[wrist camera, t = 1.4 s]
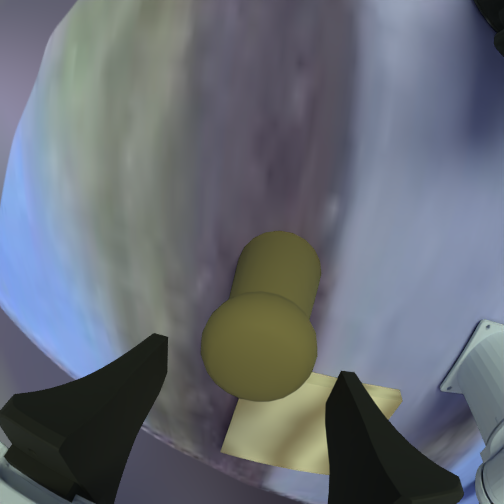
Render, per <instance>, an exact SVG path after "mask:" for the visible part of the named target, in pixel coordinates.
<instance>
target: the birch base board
mask: <svg viewBox="0 0 504 504" xmlns="http://www.w3.org/2000/svg"><path fill="white" fill-rule="evenodd" d="M336 380H337V378H335V377H330V376H326V375H322V374H317V373H313V372H312V373H311V375H310V377H309V378H308V379H307V380H306V382H305V383H304V384H303V385H302V386H301V387H300V388H299V389H298V390H296V391H295V392H293V393H292V394H290V395H288V396H286V397H285V398H282V399H278V400H274V401H270V402H254V401H249V400H244V399H240V398H239V399H238V402H237V405H236V408H235V411H234V414H233V417H232V420H231V423H230V426H229V428H228V431H227V434H226V437H225V440H224V443H223V446H222V449H221V452H222V453H226V454H229V455H233V456H236V457H240V458H244V459H247V460H251V461H255V462H260V463H264V464H268V465H273V466H278V467H283V468H288V469H293V470H299V471H305V472H311V473H318V474H325V475H330V474H329V458H328V448H327V439H326V429H325V404H326V401H327V399H328V397H329V395H330V393H331V391H332V389H333V387H334V385H335V383H336ZM362 384H363V386H364V387H365V389H366V390H367V392H368V393H369V395H370V396H371V398H372V399H373V400H374V402H375V403H376V405H377V406H378V407H379V409H380V410H381V411H382V413H383V414H384V415H385V417H386V418H387V419H388V420H389V418H390V417H391V416H392V414H393V413H394V412H395V410H396V409H397V408H398V406H399V405H400V404H401V402H402V397H401V393H400V390H397V389H391V388H385V387H380V386H374V385H369V384H364V383H362Z"/></svg>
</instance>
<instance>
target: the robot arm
mask: <svg viewBox="0 0 504 504" xmlns="http://www.w3.org/2000/svg"><path fill="white" fill-rule="evenodd" d="M487 325H488V326H487ZM486 326H487V327H486ZM167 360H168V337H166V336H163V335H159V334H156V333H154V334H152V335H151V336H149V337H148V338H146V339H145V340H144V341H142V342H141V343H140V344H138V345H137V346H135V347H134V348H133V349H131V350H130V351H128V352H127V353H125V354H124V355H122V356H121V357H119V358H118V359H116V360H115V361H113V362H111V363H110V364H108V365H106V366H104V367H103V368H101V369H99V370H97V371H95V372H93V373H91V374H89V375H87V376H85V377H83V378H80V379H78V380H75V381H72V382H69V383H66V384H63V385H60V386H57V387H54V388H50V389H45V390H40V391H35V392H28V393H20V394H14V395H13V396H12V397H11V398H10V400H9V401H8V402H7V403H6V404H5V405H4V407H3V408H2V409H1V410H0V426H1V428H2V429H3V431H4V433H5V434H6V436H7V437H8V439H9V440H10V441H11V443H12V445H11V447H10V448H8V447H7V446H6V445H5V444H3V443H2V442H1V441H0V504H114V501H115V498H116V494H117V490H118V487H119V483H120V480H121V477H122V474H123V471H124V468H125V465H126V462H127V459H128V457H129V454H130V451H131V449H132V446H133V443H134V441H135V438H136V436H137V434H138V432H139V430H140V428H141V426H142V424H143V422H144V420H145V418H146V417H147V415H148V413H149V411H150V409H151V407H152V406H153V404H154V402H155V400H156V398H157V396H158V394H159V392H160V390H161V388H162V385H163V383H164V380H165V377H166V374H167ZM440 389H441V391H443V392H451V393H460V394H464V397H465V399H466V401H467V403H468V405H469V407H470V410H471V412H472V414H473V416H474V419H475V421H476V423H477V426H478V428H479V431H480V433H481V435H482V438H483V440H484V443H485V445H486V447H485V448H484V450H483V451H482V452H481V453H480V455H481V457H482V460H483V463H482V464H481V465H480V466H479V468H478V470H477V473H476V478H475V490H476V495H477V498H478V501H479V503H480V504H504V325H503V324H499V323H496V322H492V321H489V320H486V319H484V320H482V321H480V323H479V324H478V326H477V328H476V330H475V332H474V333H473V335H472V337H471V339H470V340H469V342H468V344H467V346H466V347H465V349H464V351H463V352H462V354H461V355H460V357H459V359H458V360H457V362H456V363H455V365H454V366H453V368H452V370H451V371H450V373H449V374H448V375H447V377H446V378H445V380H444V381H443V383H442V384H441V386H440ZM325 429H326V439H327V448H328V458H329V474H330V475H329V495H328V504H456V503H458V502H459V501H460V500H461V499H462V497H463V495H464V492H463V488H462V485H461V482H460V479H459V477H458V476H457V475H455V474H453V473H451V472H449V471H447V470H446V469H444V468H442V467H440V466H439V465H437V464H436V463H434V462H433V461H431V460H430V459H428V458H427V457H426V456H424V455H423V454H422V453H421V452H419V451H418V450H417V449H416V448H415V447H414V446H412V445H411V444H410V443H409V442H408V441H407V440H406V439H405V438H404V437H403V436H402V435H401V434H400V433H399V432H398V431H397V430H396V429H395V427H394V426H393V425H392V424H391V423H390V422H389V420H388V419H387V418H386V417H385V415H384V414H383V413H382V411H381V410H380V409H379V407H378V406H377V405H376V403H375V402H374V400H373V399H372V398H371V396H370V395H369V393H368V392H367V390H366V389H365V387H364V386H363V384H362V383H361V381H360V380H359V378H358V377H357V375H356V374H355V372H347V371H341V372H340V374H339V376H338V378H337V380H336V383H335V385H334V387H333V389H332V391H331V393H330V395H329V397H328V399H327V401H326V404H325Z"/></svg>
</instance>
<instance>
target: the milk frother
mask: <svg viewBox="0 0 504 504" xmlns="http://www.w3.org/2000/svg"><path fill="white" fill-rule="evenodd" d="M474 2H475V3H476V5H477V7H478V9H479V10H480V12H481V13H482V15H483V16H484V17H485V19H486V20H487V21H488V23H489V24H490V25H491V26H492V28H493V29H494V30H495V31H496V32H497V34H496V35H495V37H494V45H495V47H496V49H497V50H498V51H499V52H500V53H501V54H502V55H503V57H504V0H474Z"/></svg>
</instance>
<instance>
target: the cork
mask: <svg viewBox="0 0 504 504" xmlns="http://www.w3.org/2000/svg"><path fill="white" fill-rule="evenodd" d="M320 277H321V267H320V260H319V258H318V256H317V254H316V252H315V250H314V249H313V248H312V246H311V245H310V244H309V243H308V242H307V241H306V240H305V239H303V238H301V237H299V236H297V235H295V234H293V233H289V232H283V231H274V232H266V233H264V234H261V235H259V236H257V237H255V238H253V239H252V240H251V241H250V242H249V243H248V244H247V245H246V246H245V247H244V249H243V251H242V253H241V255H240V257H239V260H238V264H237V268H236V272H235V276H234V280H233V285H232V289H231V293H230V297H229V300H227V301H226V302H224V303H223V304H222V305H221V306H220V307H219V308H218V309H216V310H215V311H214V312H213V313H212V315H211V317H210V318H209V320H208V322H207V324H206V326H205V328H204V330H203V332H202V340H201V356H202V359H203V362H204V365H205V368H206V370H207V373H208V374H209V375H210V377H211V378H212V379H213V381H214V382H215V383H216V384H217V385H218V386H219V387H221V388H222V389H223V390H224V391H226V392H227V393H229V394H231V395H234V396H236V397H238V398H240V399H244V400H249V401H254V402H270V401H274V400H278V399H282V398H285V397H286V396H288V395H290V394H292V393H293V392H295V391H296V390H298V389H299V388H300V387H301V386H302V385H303V384H304V383H305V382H306V380H307V379H308V378H309V377H310V375H311V373H312V370H313V367H314V364H315V361H316V358H317V341H316V333H315V331H314V329H313V327H312V325H311V323H310V321H309V319H310V315H311V312H312V308H313V304H314V301H315V297H316V293H317V289H318V285H319V281H320Z"/></svg>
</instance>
